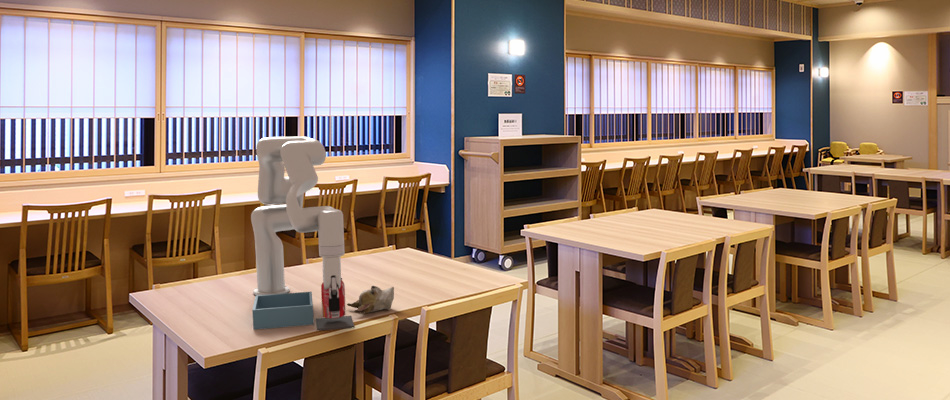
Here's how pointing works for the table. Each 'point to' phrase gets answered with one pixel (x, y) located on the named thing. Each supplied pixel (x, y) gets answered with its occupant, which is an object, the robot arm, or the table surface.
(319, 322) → the gray square plate
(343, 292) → the soda can
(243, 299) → the table surface
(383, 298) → the ceramic sculpture
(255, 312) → the open box
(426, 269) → the table surface
